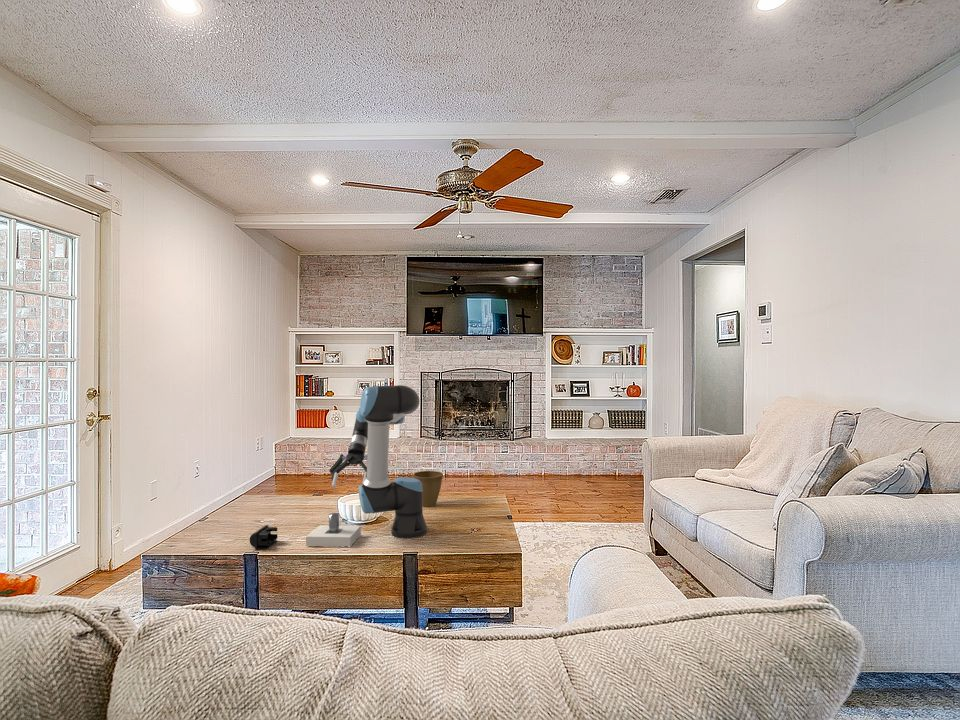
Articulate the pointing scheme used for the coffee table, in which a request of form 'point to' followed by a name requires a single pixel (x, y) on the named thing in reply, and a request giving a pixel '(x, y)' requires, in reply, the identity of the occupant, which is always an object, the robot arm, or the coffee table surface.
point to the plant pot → (429, 486)
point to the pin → (334, 523)
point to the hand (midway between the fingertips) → (348, 486)
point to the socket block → (333, 536)
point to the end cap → (263, 538)
